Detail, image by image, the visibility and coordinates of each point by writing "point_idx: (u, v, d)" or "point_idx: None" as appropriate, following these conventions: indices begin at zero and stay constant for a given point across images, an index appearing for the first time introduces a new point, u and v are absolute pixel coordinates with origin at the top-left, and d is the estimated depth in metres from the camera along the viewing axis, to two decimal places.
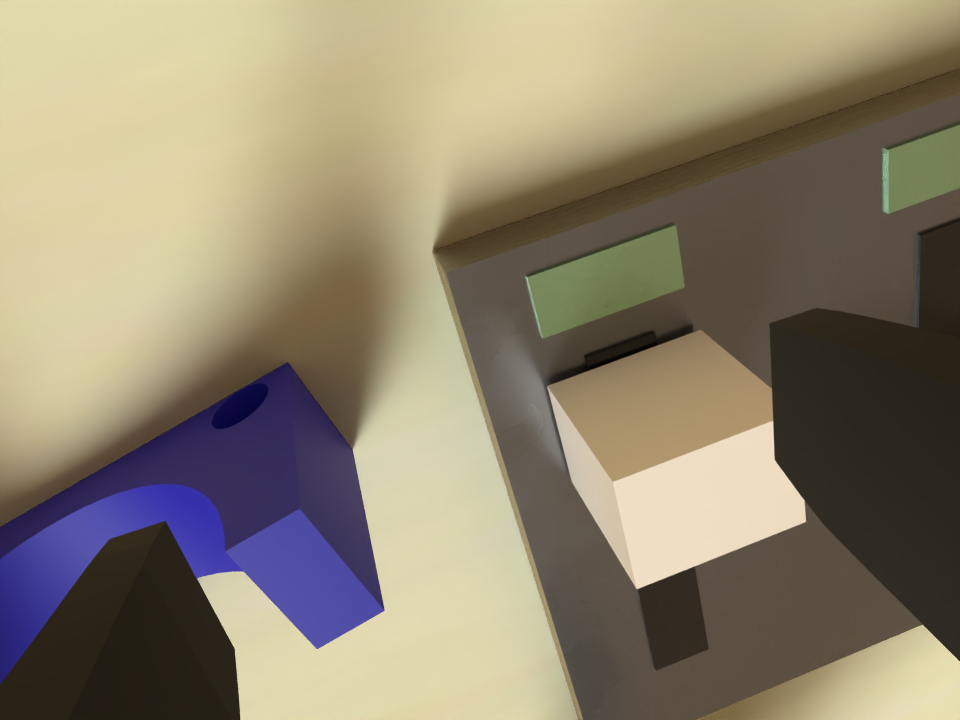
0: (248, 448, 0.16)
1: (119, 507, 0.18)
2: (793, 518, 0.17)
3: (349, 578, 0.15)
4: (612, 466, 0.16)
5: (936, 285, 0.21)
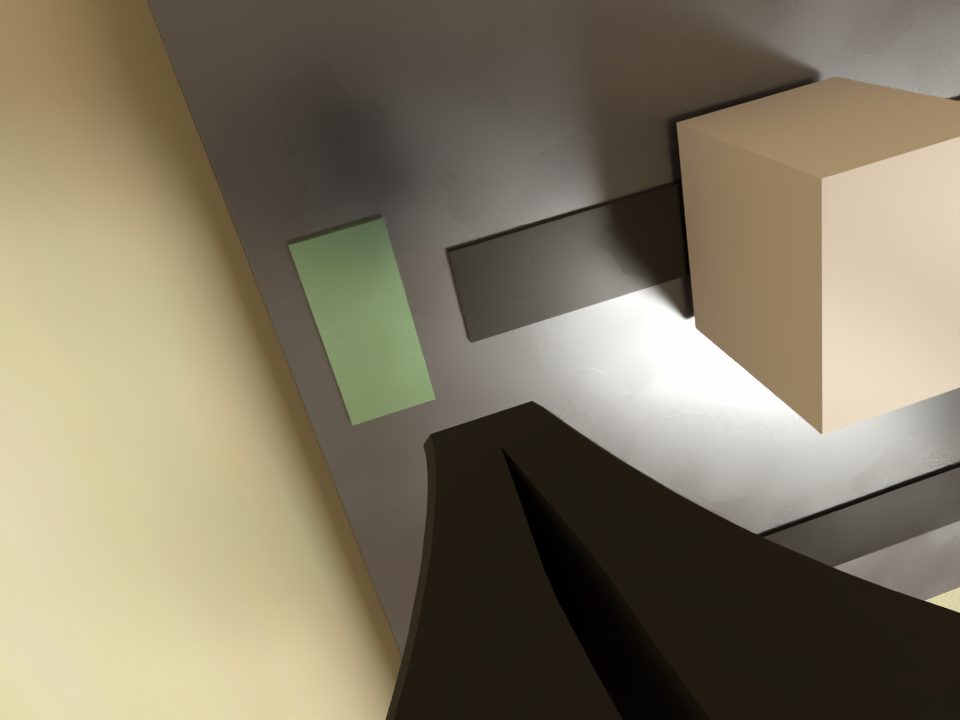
0: None
1: None
2: None
3: None
4: None
5: (549, 286, 0.14)
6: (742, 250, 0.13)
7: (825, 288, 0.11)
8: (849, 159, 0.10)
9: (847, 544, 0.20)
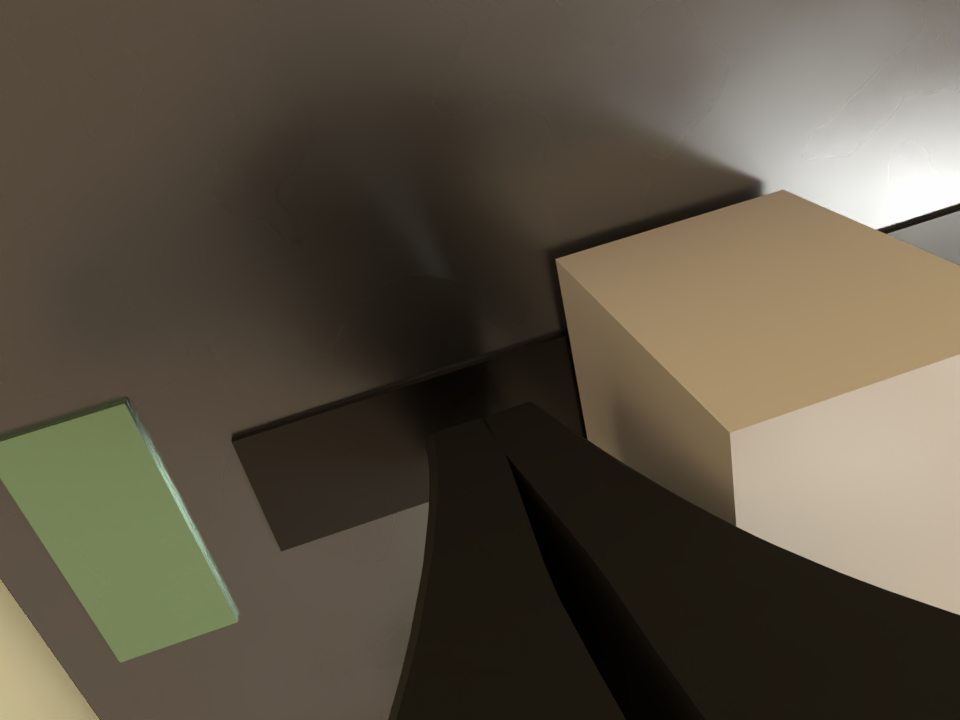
0: None
1: None
2: None
3: None
4: None
5: (390, 473, 0.10)
6: (639, 461, 0.09)
7: None
8: (778, 386, 0.06)
9: None
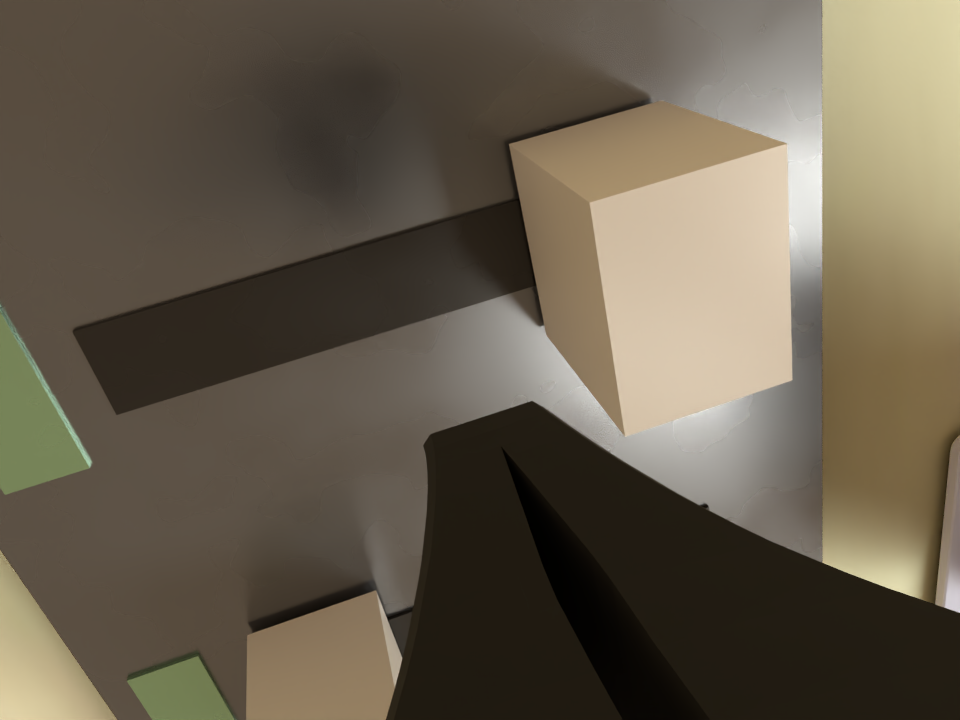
0: None
1: None
2: None
3: None
4: None
5: (193, 360, 0.15)
6: (559, 265, 0.13)
7: (607, 302, 0.12)
8: (621, 184, 0.11)
9: None
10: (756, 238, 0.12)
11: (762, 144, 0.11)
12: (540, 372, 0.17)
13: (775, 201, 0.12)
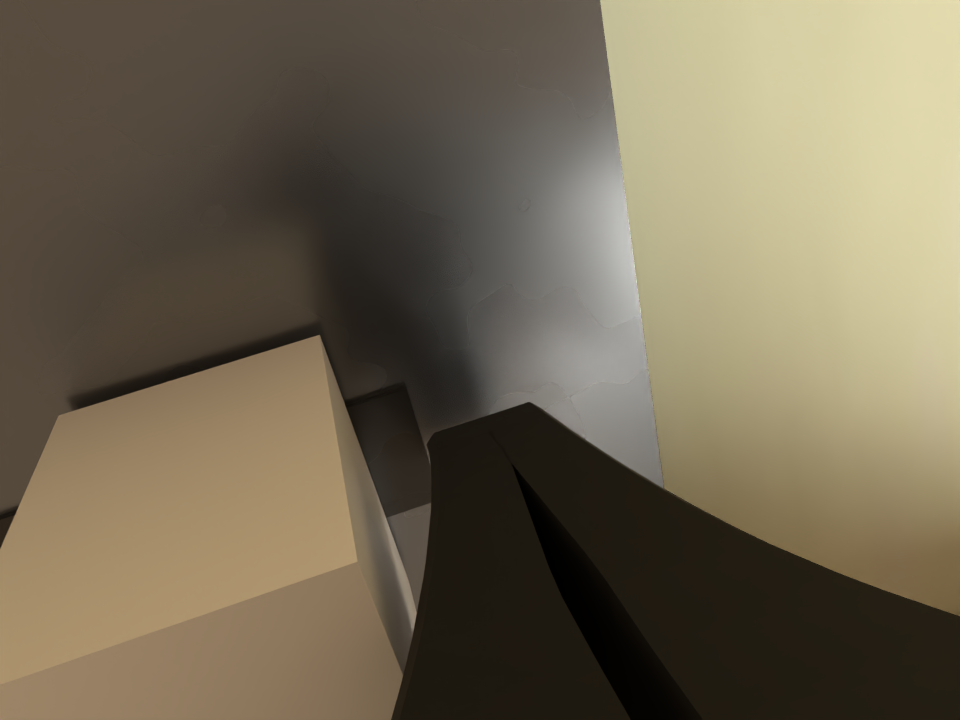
0: None
1: None
2: None
3: None
4: None
5: None
6: None
7: None
8: (36, 639, 0.06)
9: None
10: (339, 702, 0.06)
11: (323, 549, 0.06)
12: None
13: (361, 646, 0.06)
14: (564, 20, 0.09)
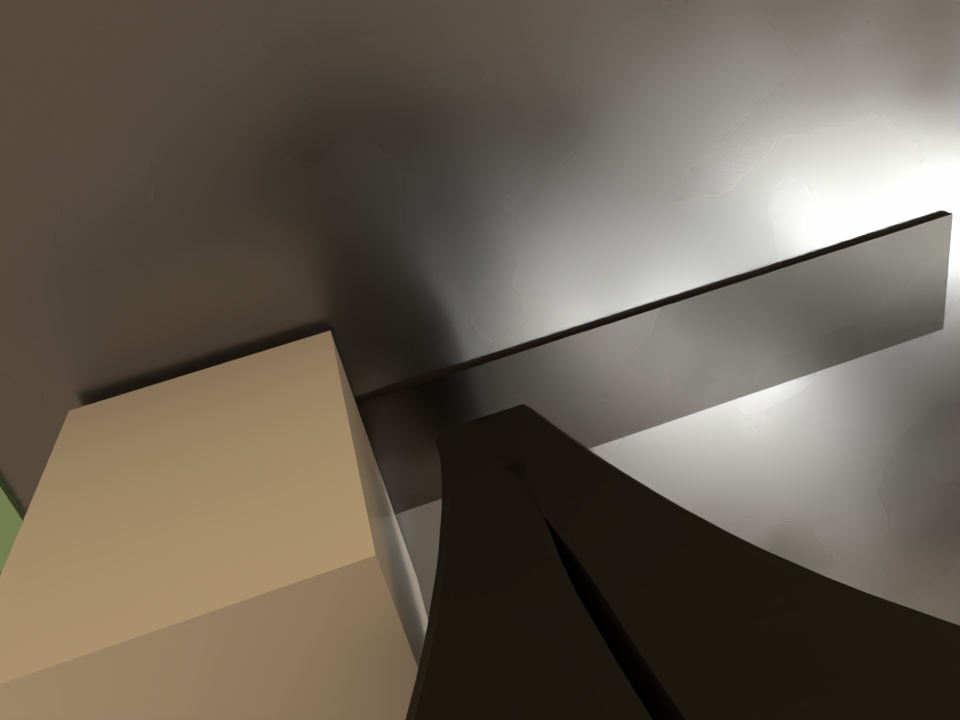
0: None
1: None
2: None
3: None
4: None
5: None
6: None
7: None
8: (53, 631, 0.06)
9: None
10: (354, 696, 0.06)
11: (341, 543, 0.06)
12: (732, 507, 0.12)
13: (377, 640, 0.06)
14: None
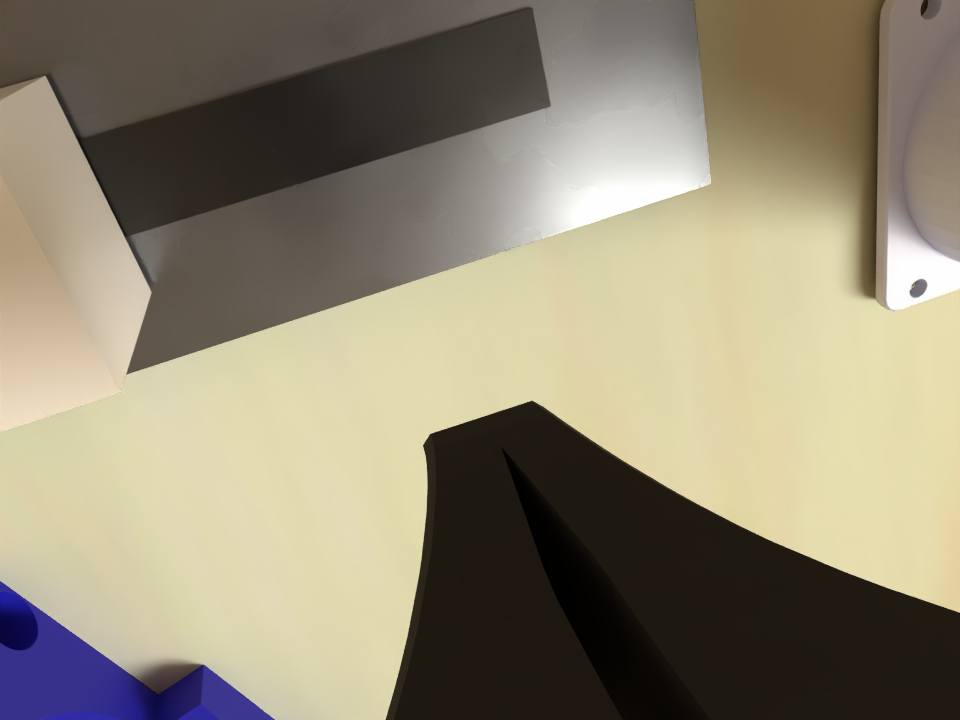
0: None
1: None
2: None
3: None
4: None
5: None
6: None
7: None
8: None
9: (356, 138, 0.15)
10: None
11: None
12: None
13: None
14: None
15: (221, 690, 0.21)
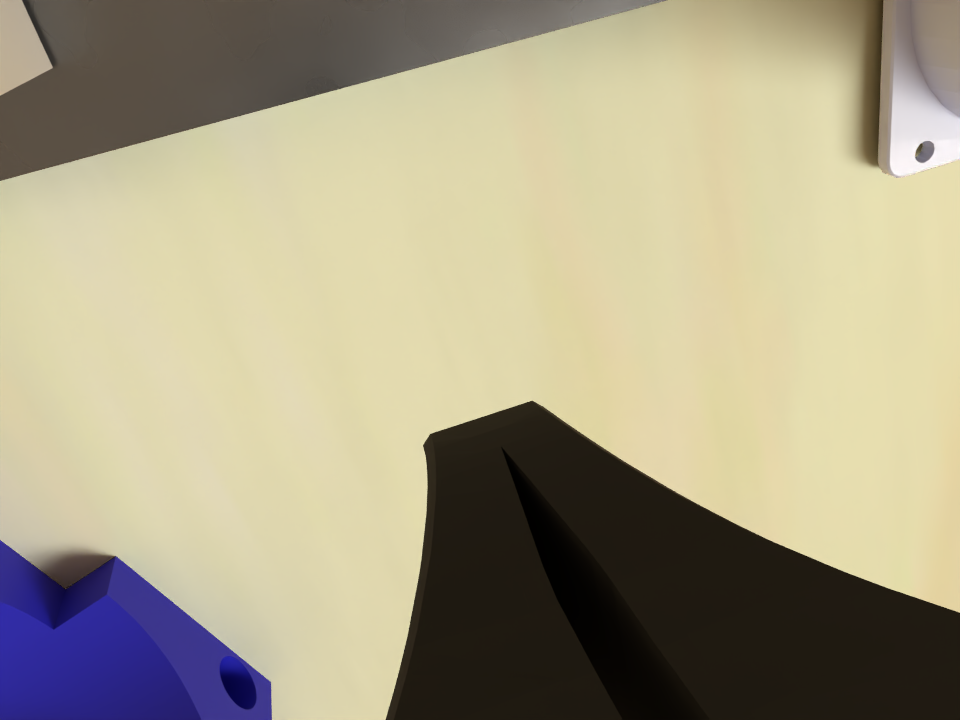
0: None
1: None
2: None
3: None
4: None
5: None
6: None
7: None
8: None
9: None
10: None
11: None
12: None
13: None
14: None
15: (134, 586, 0.19)
